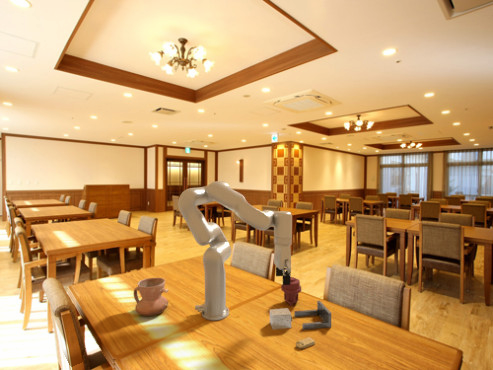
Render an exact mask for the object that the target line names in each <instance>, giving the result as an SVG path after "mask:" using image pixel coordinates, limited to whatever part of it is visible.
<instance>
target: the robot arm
mask: <svg viewBox="0 0 493 370" xmlns="http://www.w3.org/2000/svg"><path fill="white" fill-rule="evenodd" d="M213 202H215V203H218V204H219V205H222V206H223V207H225V208H226V209H228V210H230V211H232V212H233V213H234V215H236V216H237V218H239V219H240V220H241V221H243V222H244V223H246V224H247V225H249V226H251V227H252V228H254V229H256V230H258V231H266V230H268V229H270V228H271V227H273V244H274V252H273V253H274V254H273V263H274V265H275V276H276V277H282V284H283V285H290V277H292V275H291V273H292V271H291V270H292V250H291V246H292V245H293V214H292V213H291V211H287V210H286V211H285V210H282V211H281V210H280V211H278V210H270V209H264V210H262V211H261V210H260V209H257V208H256V207H255V206H253V205H251V204H250V203H249V202H248V201H247V200H246V197H245V196H244V195H243V194H242V193H240V192H239V191H236V190H234V189H232V188H231V186H230V184H229V183H227V182H226V181H223V180H222V181H221V180H220V181H217V180H216V181H212V182H210V184H208V185H205V186H200V187H199V186H198V187H190V188H187V189H185V190H184V191H182V193H181V194H180V195H179V198H178V203H177V205H178V206H177V207H178V210H179V213H180V214H181V216H182V218H183V220H184V221H185V223H186V225H187V227H188V229H189V231H190V233H191V234H192V236H193V238H194V240H195V242H196V244H198V245H200V246H202V247H203V246H208V245H209V247H208V248H206V250H205V251H204V252H203V254H202V255H203V256H202V263H203V268H204V271H203V272H204V303H203V304H200V305H199V304H197V305H196V304H195V305H194V310H195V311H197V312H198V313H199V312H200V313H201V316H202V318H204V319H205V320H207V321H208V320H209V321H220V320H224V319H225V318H227V317H228V316H229V314H230V309H229V307H227V306H226V305H227V304H226V303H227V302H226V300H227V299H226V298H227V296H226V291H227V290H226V285H227V284H226V281H227V280H226V276H227V275H226V269H225V262H227V260H228V259H229V258H230V257H231V256H232V246H231V243H230V242H229V241H228V238H227V237H226V236H225V234H224V232H223V230H222V228H221V227H220V226H219V224H217V223H215V222H213V221H212V222H211V221H209V222H208V221H207V219H206V218H205V216H204V214H203V213H202V211H201V210H200V209H199V208H198V206H200V205H205V204H209V203H213Z"/></svg>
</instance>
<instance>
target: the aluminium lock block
mask: <svg viewBox="0 0 493 370" xmlns="http://www.w3.org/2000/svg"><path fill="white" fill-rule="evenodd" d="M292 322H293V316H292V312H291V311H290V309H289V308H288V307H286V308H273V309H269V324H270V326H271V329H272V330H283V329H292Z"/></svg>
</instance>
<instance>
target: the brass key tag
mask: <svg viewBox="0 0 493 370" xmlns="http://www.w3.org/2000/svg"><path fill="white" fill-rule="evenodd" d="M314 345H316V341H315V340H314V339H312V338H311V337H310V336H308V337H306V338H303V339H300V340H297V341H296V342H295V346H296V349H298V350H304V349H307V348H309V347H312V346H314Z"/></svg>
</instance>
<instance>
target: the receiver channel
mask: <svg viewBox="0 0 493 370" xmlns="http://www.w3.org/2000/svg"><path fill="white" fill-rule="evenodd" d="M316 304H317V305H316V307H317V309H307V310H296V311H295V310H294V315H293V316H294V317H295V318H297V317H311V316H313V317H314V316H318V317H319V318H320V319H321V320H322V321H316V322H305V323H304V322H303V323H302V327H301V328H302V330H303V331H304V330H314V329H327V328H332V312H331V311H330V310H329V308H327V307H326V305H325V304H324V303H323V302H322V300H317V303H316Z"/></svg>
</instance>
